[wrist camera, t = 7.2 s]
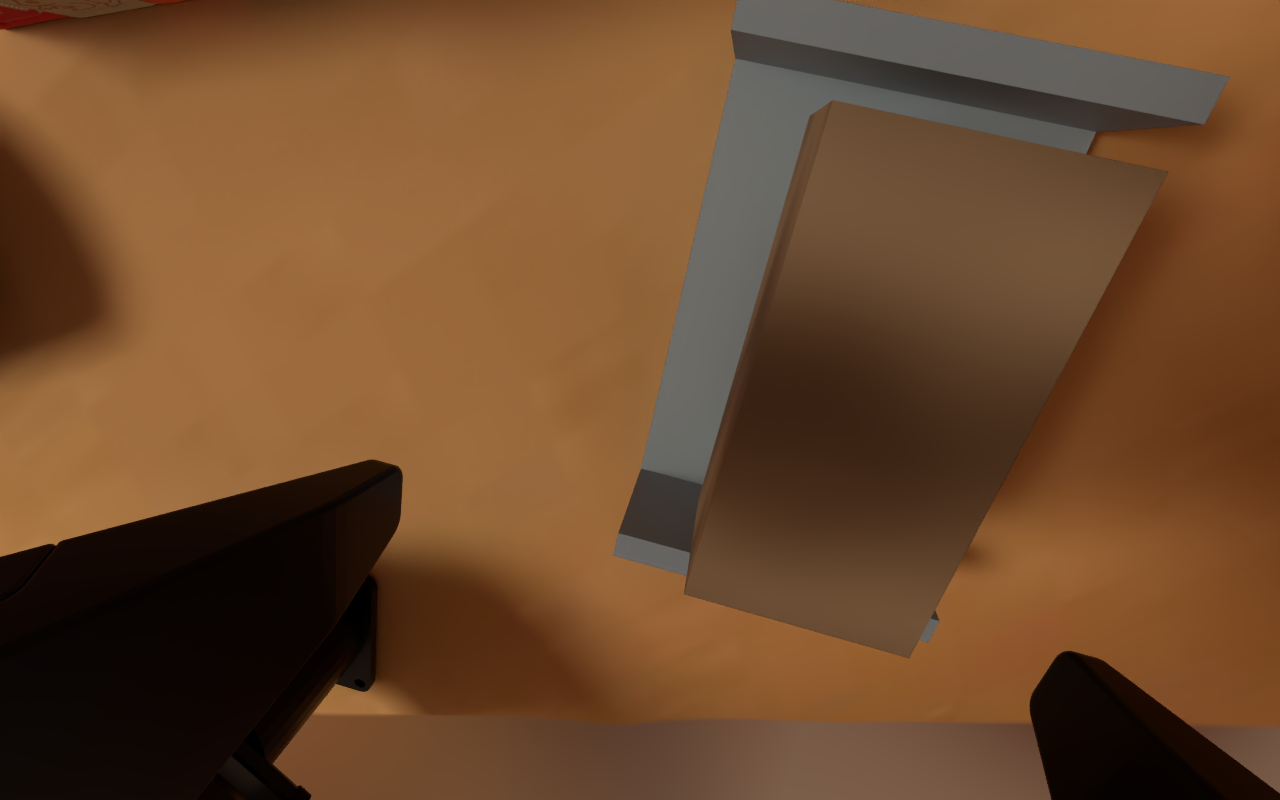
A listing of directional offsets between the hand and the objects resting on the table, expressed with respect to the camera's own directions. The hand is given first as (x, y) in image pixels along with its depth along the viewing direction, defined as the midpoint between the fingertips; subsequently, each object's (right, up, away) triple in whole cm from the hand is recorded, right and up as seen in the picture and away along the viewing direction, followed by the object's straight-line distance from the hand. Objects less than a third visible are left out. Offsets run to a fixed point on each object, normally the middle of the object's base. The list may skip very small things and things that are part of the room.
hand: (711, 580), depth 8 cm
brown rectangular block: (+4, +3, +7) cm, 9 cm away
